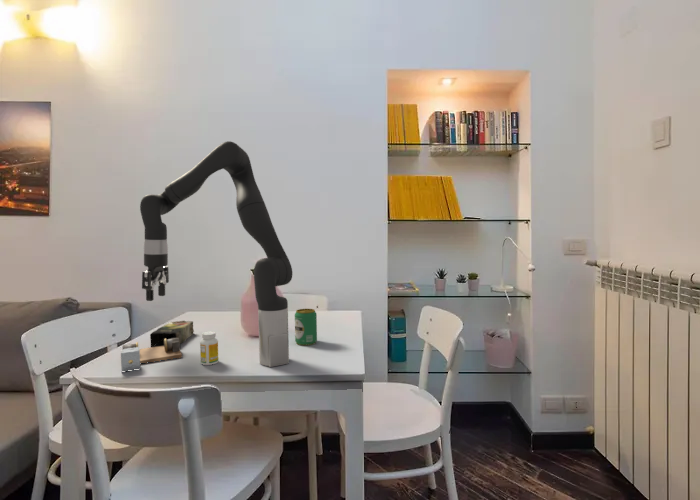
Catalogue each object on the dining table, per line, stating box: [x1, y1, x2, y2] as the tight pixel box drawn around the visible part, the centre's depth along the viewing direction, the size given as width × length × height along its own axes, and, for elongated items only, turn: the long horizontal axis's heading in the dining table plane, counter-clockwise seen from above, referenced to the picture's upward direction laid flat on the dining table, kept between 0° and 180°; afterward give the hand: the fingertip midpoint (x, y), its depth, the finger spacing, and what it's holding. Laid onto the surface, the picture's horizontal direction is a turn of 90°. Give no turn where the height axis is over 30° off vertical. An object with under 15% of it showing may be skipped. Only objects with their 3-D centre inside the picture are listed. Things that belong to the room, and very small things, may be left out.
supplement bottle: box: [199, 331, 219, 366], centre depth 130 cm, size 5×5×10 cm
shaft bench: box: [122, 337, 183, 364], centre depth 137 cm, size 17×14×5 cm
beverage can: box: [294, 308, 318, 346], centre depth 150 cm, size 8×8×12 cm
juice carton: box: [149, 320, 195, 347], centre depth 157 cm, size 20×10×6 cm, turn 3°
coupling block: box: [120, 346, 141, 372], centre depth 125 cm, size 5×5×6 cm
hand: (156, 298), depth 144 cm, fingers open, 8 cm apart
